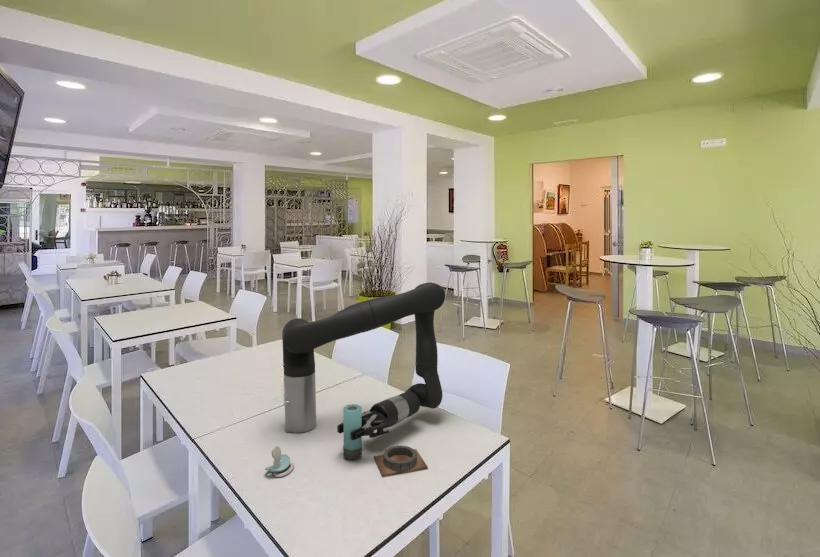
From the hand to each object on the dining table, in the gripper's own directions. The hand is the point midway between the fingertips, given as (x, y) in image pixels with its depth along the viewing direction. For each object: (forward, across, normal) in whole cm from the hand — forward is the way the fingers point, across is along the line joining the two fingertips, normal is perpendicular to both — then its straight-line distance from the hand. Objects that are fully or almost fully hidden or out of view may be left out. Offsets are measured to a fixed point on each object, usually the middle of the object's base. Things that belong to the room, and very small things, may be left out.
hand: (344, 432), depth 114 cm
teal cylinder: (-3, 0, +7) cm, 7 cm away
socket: (-9, +12, +8) cm, 17 cm away
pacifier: (+14, -9, +8) cm, 18 cm away
